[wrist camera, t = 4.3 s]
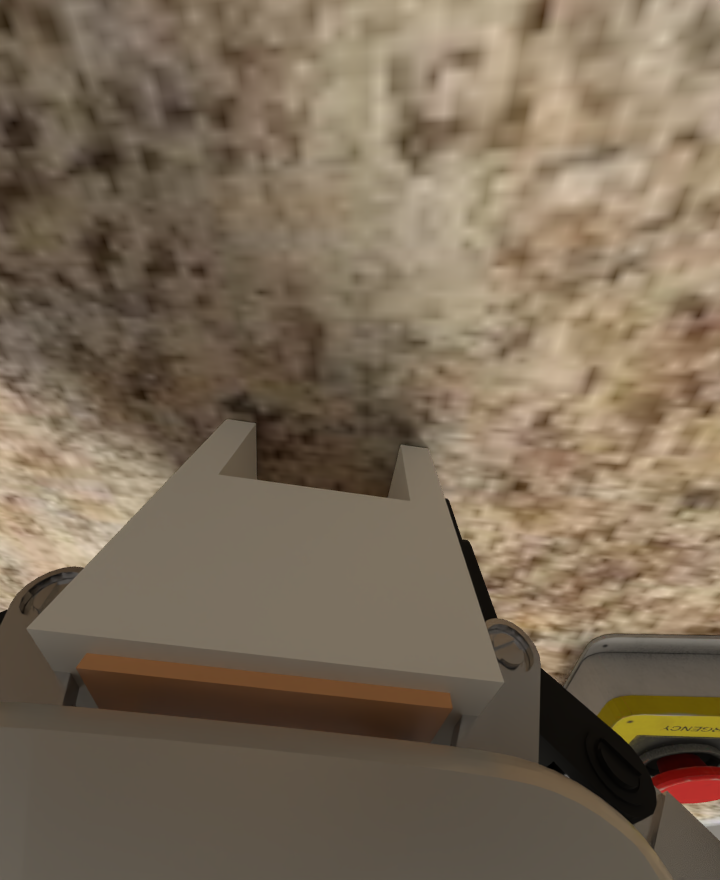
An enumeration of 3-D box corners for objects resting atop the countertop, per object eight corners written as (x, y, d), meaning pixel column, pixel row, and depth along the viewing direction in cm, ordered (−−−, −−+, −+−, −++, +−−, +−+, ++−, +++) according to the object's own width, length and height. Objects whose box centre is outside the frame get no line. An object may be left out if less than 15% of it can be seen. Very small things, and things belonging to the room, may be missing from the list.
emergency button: (905, 741, 12) (707, 841, 19) (775, 626, 16) (651, 745, 23) (654, 733, 12) (552, 834, 20) (587, 623, 16) (523, 741, 23)
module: (226, 419, 11) (11, 643, 4) (429, 448, 11) (509, 698, 5) (233, 526, 13) (103, 771, 7) (398, 548, 13) (424, 801, 7)
